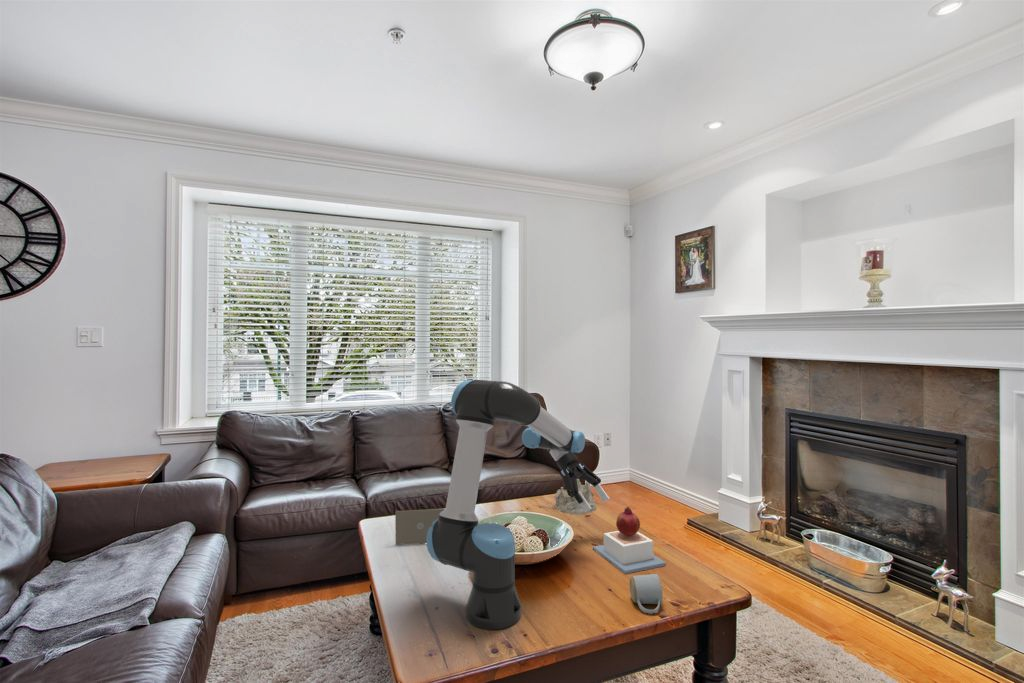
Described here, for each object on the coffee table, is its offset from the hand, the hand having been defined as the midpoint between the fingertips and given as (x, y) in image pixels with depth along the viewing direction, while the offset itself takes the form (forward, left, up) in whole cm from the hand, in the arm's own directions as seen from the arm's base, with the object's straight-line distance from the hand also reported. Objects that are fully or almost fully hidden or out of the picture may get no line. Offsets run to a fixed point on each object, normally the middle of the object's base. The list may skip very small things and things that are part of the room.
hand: (598, 505), depth 179 cm
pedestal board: (-9, -6, -16) cm, 19 cm away
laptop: (+35, +57, -16) cm, 69 cm away
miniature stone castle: (+41, -14, -16) cm, 46 cm away
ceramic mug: (-37, +6, -16) cm, 41 cm away
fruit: (-9, -6, -9) cm, 14 cm away
